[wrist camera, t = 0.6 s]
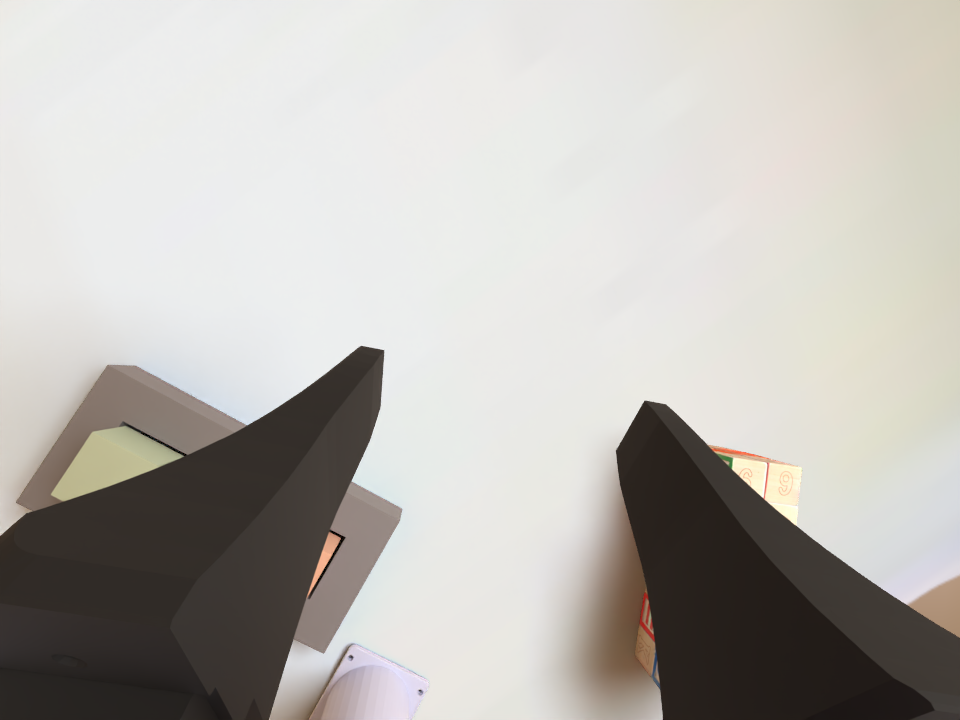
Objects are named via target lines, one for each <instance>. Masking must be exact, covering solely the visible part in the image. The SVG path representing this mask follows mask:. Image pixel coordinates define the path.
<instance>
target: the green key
mask: <svg viewBox="0 0 960 720" xmlns="http://www.w3.org/2000/svg"><path fill="white" fill-rule="evenodd" d="M182 457H184V456H183V455H181V454H179V453H177V452H175V451H173V450H171V449H169V448H167V447H165V446H163V445H162V444H160V443H158V442H156V441H154V440H152V439H150V438H148V437H146V436H144V435H142V434H140V433H139V432H137V431H135V430H133V429H131V428H129V427H127V426H123V427H117V428H111V429H105V430H99V431H94V432H92V433H91V434H90V436H89V437H88V439H87V440H86V442H85V444H84V445H83V447H82V448H81V450H80V451H79V453H78V454H77V456H76V457H75V459H74V460H73V462H72V463H71V465H70V466H69V468H68V469H67V471H66V472H65V474H64V475H63V477H62V478H61V480H60V481H59V483H58V484H57V486H56V487H55V489H54V490H53V492H52V493H51V495H52V496H54V497H56V498H58V499H60V500H62V501H67V500H70V499H73V498H76V497H79V496H82V495H85V494H88V493H91V492H93V491H96V490H99V489H102V488H105V487H108V486H111V485H114V484H116V483H119V482H122V481H125V480H127V479H130V478H132V477H135V476H138V475H140V474H143V473H145V472H148V471H151V470H153V469H156V468H158V467H160V466H163V465H165V464H168V463H170V462H172V461H175V460H177V459H180V458H182Z"/></svg>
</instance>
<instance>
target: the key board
mask: <svg viewBox="0 0 960 720" xmlns="http://www.w3.org/2000/svg"><path fill="white" fill-rule="evenodd" d="M123 426H127V427H129V428H131V429H133V430H135V431H137V432H140V430H141V431H143V432H145V433H147V434H148V435H150V436H152V437H154V438H156V439H158V440H160V441H162V442H164V443H166V444H168V445H170V446H171V447H173V448H175V449H177V450H179V451H181V452H183V453H185V454H187V455H189V454H191V453H193V452H195V451H197V450H199V449H201V448H203V447H206V446H208V445H210V444H212V443H214V442H216V441H218V440H220V439H223V438H225V437H227V436H229V435H231V434H233V433H235V432H237V431H238V430H240V429H242V428H244V427H246V426H247V425H245V424H243V423H241V422H239V421H237V420H236V419H234V418H232V417H230V416H228V415H226V414H224V413H223V412H221V411H219V410H217V409H215V408H213V407H211V406H209V405H208V404H206V403H204V402H202V401H200V400H198V399H196V398H195V397H193V396H191V395H189V394H187V393H185V392H183V391H182V390H180V389H178V388H176V387H174V386H172V385H170V384H168V383H167V382H165V381H163V380H161V379H159V378H157V377H155V376H154V375H152V374H150V373H148V372H146V371H144V370H142V369H141V368H139V367H137V366H125V365H108V366H107V367H106V368H105V370H104V371H103V373H102V374H101V376H100V377H99V379H98V380H97V382H96V383H95V385H94V386H93V388H92V389H91V391H90V392H89V394H88V395H87V397H86V398H85V400H84V401H83V403H82V404H81V406H80V407H79V409H78V410H77V412H76V413H75V415H74V416H73V418H72V419H71V421H70V422H69V424H68V425H67V427H66V428H65V430H64V431H63V433H62V434H61V436H60V437H59V439H58V440H57V442H56V443H55V445H54V446H53V448H52V449H51V451H50V452H49V454H48V455H47V457H46V458H45V460H44V461H43V463H42V464H41V466H40V467H39V469H38V470H37V472H36V473H35V475H34V476H33V477H32V479H31V480H30V482H29V483H28V485H27V486H26V488H25V489H24V491H23V492H22V494H21V495H20V497H19V498H18V500H17V501H16V503H18V504H20V505H22V506H24V507H26V508H28V509H30V510H32V511H36V510H39V509H42V508H46V507H49V506H52V505H55V504H58V503H61V502H64V501H62V500H60V499H58V498H56V497H54V496H52V495H51V493H52V492H53V490H54V489H55V487H56V486H57V484H58V483H59V481H60V480H61V478H62V477H63V475H64V474H65V472H66V471H67V469H68V468H69V466H70V465H71V463H72V462H73V460H74V459H75V457H76V456H77V454H78V453H79V451H80V450H81V448H82V447H83V445H84V444H85V442H86V440H87V439H88V437H89V436H90V434H91V433H92V432H94V431H99V430H105V429H111V428H117V427H123ZM401 512H402V509H401V508H400V507H398V506H396V505H394V504H392V503H390V502H388V501H387V500H385V499H383V498H381V497H379V496H377V495H375V494H373V493H372V492H370V491H368V490H366V489H364V488H362V487H360V486H359V485H357V484H355V483H353V482H351V483H350V485H349V487H348V489H347V492H346V494H345V496H344V498H343V500H342V502H341V505H340V507H339V509H338V511H337V513H336V516H335V518H334V521H333V523H332V526H331V528H330V530H332V531H334V532H336V533H338V534H340V535H342V536H344V537H345V538H344V540H343V542H342V543H341V545H340V547H339V548H338V550H337V552H336V554H335V555H334V557H333V559H332V560H331V562H330V564H329V566H328V567H327V569H326V571H325V572H324V574H323V576H322V578H321V579H320V581H318V580H317V582H316V583H315V585H314V587H313V588H312V590H311V592H310V594H309V595H308V597H307V599H306V601H305V604H304V607H303V610H302V614H301V617H300V620H299V623H298V626H297V629H296V632H295V636H294V639H295V640H297V641H299V642H301V643H303V644H305V645H307V646H309V647H311V648H313V649H315V650H317V651H319V652H321V653H323V654H324V652H325V651H326V649H327V647H328V645H329V644H330V642H331V640H332V638H333V637H334V635H335V633H336V631H337V630H338V628H339V626H340V624H341V623H342V621H343V619H344V617H345V616H346V614H347V612H348V610H349V609H350V607H351V605H352V603H353V602H354V600H355V598H356V596H357V595H358V593H359V591H360V589H361V588H362V586H363V584H364V582H365V581H366V579H367V577H368V575H369V574H370V572H371V570H372V568H373V567H374V565H375V563H376V561H377V560H378V558H379V556H380V554H381V553H382V551H383V549H384V547H385V546H386V544H387V542H388V540H389V539H390V537H391V535H392V533H393V532H394V530H395V528H396V526H397V525H398V523H399V521H400V517H401Z"/></svg>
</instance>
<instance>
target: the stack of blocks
mask: <svg viewBox="0 0 960 720" xmlns="http://www.w3.org/2000/svg"><path fill="white" fill-rule="evenodd" d="M708 446H709V447H710V448H711V449H712V450H713V451H714V452H715V453H716V454H717V455H718V456H719V457H720V458H721V459H722V460H723V461H724V462H725V463H726V464H727V465H728V466H729V467H730V468H731V469H732V470H733V471H734V472H736V473H737V474H738V475H739V476H740V477H741V478H742V479H743V480H744V481H745V482H746V483H747V484H748V485H749V486H751V487H752V488H753V489H754V490H755V491H756V492H757V493H758V494H759V495H760V496H761V497H763V498H764V499H765V500H766V501H767V502H768V503H769V504H770V505H772V506H773V507H774V508H775V509H776V510H777V511H779V512H780V513H781V514H782V515H783V516H785V517H786V518H787V519H788V520H790V521H791V522H792V523H793V524H795V525H796V521H797V514H798V506H797V504H798V498H799V490H800V484H801V475H802V468H801V467H798V466H794V465H791V464H787V463H783V462H779V461H776V460H771V459H769V458H765V457H761V456H758V455H754V454H750V453H746V452H740V451H736V450H732V449H728V448H724V447H718V446H712V445H708ZM635 656H636V657H637V659H638V660H639V662H640V663H641V664H642V665H643V667H644V669H645V670H646V671H647V673H648V674H649V675H650V677H651V678H653V680H654V682H655V683H656V685H657V686H658V687H659V689H660V682H659V672H658V663H657V655H656V648H655V640H654V633H653V626H652V618H651V612H650V606H649V600H648V594H647V588H646V590H645V593H644V598H643V605H642V611H641V618H640V625H639V630H638V636H637V643H636V649H635Z"/></svg>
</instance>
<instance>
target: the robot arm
mask: <svg viewBox="0 0 960 720" xmlns="http://www.w3.org/2000/svg"><path fill="white" fill-rule="evenodd" d="M383 362H384V350H380V349H375V348H370V347H364V346H361V347H359V348H357V349H356V350H355V351H354V352H352V353H351V354H350V355H349V356H347V357H346V358H345V359H344V360H343V361H341V362H340V363H339V364H338V365H336V366H335V367H334V368H332V369H331V370H330V371H329V372H327V373H326V374H325V375H323V376H322V377H321V378H319V379H318V380H317V381H315V382H314V383H313V384H311V385H310V386H309V387H307V388H306V389H304V390H303V391H302V392H300V393H299V394H297V395H296V396H294V397H293V398H291V399H290V400H288V401H287V402H285V403H284V404H282V405H281V406H279V407H278V408H276V409H275V410H273V411H271V412H270V413H268V414H266V415H265V416H263V417H261V418H260V419H258V420H256V421H255V422H253V423H251V424H249V425H247V426H246V427H244V428H242V429H240V430H238V431H237V432H235V433H233V434H231V435H229V436H227V437H225V438H223V439H220V440H218V441H216V442H214V443H212V444H210V445H208V446H206V447H203V448H201V449H199V450H197V451H195V452H193V453H191V454H189V455H186V456H184V457H182V458H180V459H177V460H175V461H172V462H170V463H168V464H165V465H163V466H160V467H158V468H156V469H153V470H151V471H148V472H145V473H143V474H140V475H138V476H135V477H132V478H130V479H127V480H125V481H122V482H119V483H116V484H114V485H111V486H108V487H105V488H102V489H99V490H96V491H93V492H91V493H88V494H85V495H82V496H79V497H76V498H73V499H70V500H67V501H64V502H61V503H58V504H55V505H52V506H49V507H46V508H42V509H39V510H36V511H33V512H30V513H26V514H25V515H24V516H23V517H22V518H20V519H19V520H18V521H17V522H16V523H14V524H13V525H12V526H11V527H10V528H9V529H8V530H7V531H5V532H4V533H3V534H2V535H1V536H0V720H269V717H270V714H271V710H272V707H273V703H274V700H275V697H276V694H277V690H278V687H279V684H280V681H281V677H282V674H283V671H284V667H285V664H286V661H287V658H288V654H289V651H290V648H291V645H292V642H293V639H294V636H295V632H296V629H297V626H298V623H299V620H300V617H301V614H302V610H303V607H304V604H305V601H306V598H307V595H308V592H309V589H310V586H311V583H312V580H313V577H314V574H315V571H316V568H317V565H318V563H319V560H320V557H321V554H322V551H323V548H324V545H325V542H326V539H327V537H328V534H329V531H330V528H331V526H332V523H333V521H334V518H335V516H336V513H337V511H338V509H339V507H340V505H341V502H342V500H343V498H344V496H345V494H346V492H347V489H348V487H349V485H350V483H351V481H352V478H353V476H354V474H355V472H356V470H357V468H358V465H359V463H360V461H361V459H362V457H363V454H364V452H365V450H366V448H367V446H368V443H369V441H370V439H371V436H372V432H373V429H374V426H375V423H376V420H377V417H378V413H379V410H380V406H381V391H382V377H383ZM616 454H617V464H618V473H619V480H620V486H621V490H622V494H623V498H624V501H625V505H626V509H627V513H628V516H629V520H630V524H631V527H632V531H633V535H634V538H635V542H636V546H637V549H638V553H639V557H640V560H641V564H642V569H643V573H644V577H645V582H646V588H647V594H648V600H649V606H650V612H651V618H652V626H653V633H654V640H655V648H656V655H657V663H658V672H659V682H660V691H661V701H662V711H663V720H960V638H959V637H957V636H956V635H954V634H952V633H951V632H949V631H947V630H946V629H944V628H942V627H940V626H939V625H937V624H935V623H934V622H932V621H931V620H929V619H927V618H926V617H924V616H923V615H921V614H920V613H918V612H917V611H915V610H913V609H912V608H910V607H909V606H907V605H906V604H904V603H903V602H901V601H900V600H898V599H897V598H895V597H893V596H892V595H890V594H889V593H887V592H886V591H884V590H883V589H881V588H880V587H878V586H877V585H876V584H874V583H873V582H871V581H870V580H868V579H867V578H865V577H864V576H862V575H861V574H860V573H858V572H857V571H855V570H854V569H853V568H851V567H850V566H848V565H847V564H846V563H844V562H843V561H842V560H840V559H839V558H837V557H836V556H835V555H833V554H832V553H831V552H829V551H828V550H826V549H825V548H824V547H822V546H821V545H820V544H819V543H817V542H816V541H815V540H813V539H812V538H811V537H809V536H808V535H807V534H806V533H804V532H803V531H802V530H801V529H799V528H798V527H797V526H796V525H795V524H793V523H792V522H791V521H790V520H788V519H787V518H786V517H785V516H783V515H782V514H781V513H780V512H779V511H777V510H776V509H775V508H774V507H773V506H772V505H770V504H769V503H768V502H767V501H766V500H765V499H764V498H763V497H761V496H760V495H759V494H758V493H757V492H756V491H755V490H754V489H753V488H752V487H751V486H749V485H748V484H747V483H746V482H745V481H744V480H743V479H742V478H741V477H740V476H739V475H738V474H737V473H736V472H734V471H733V470H732V469H731V468H730V467H729V466H728V465H727V464H726V463H725V462H724V461H723V460H722V459H721V458H720V457H719V456H718V455H717V454H716V453H715V452H714V451H713V450H712V449H711V448H710V447H709V446H708V445H707V444H706V443H705V442H704V441H703V440H702V439H701V438H700V437H699V436H698V435H697V434H696V433H695V432H694V431H693V430H692V429H691V428H690V427H689V426H688V425H687V424H686V423H685V422H684V421H683V420H682V419H681V418H680V417H679V416H678V415H677V414H676V413H675V412H674V411H673V410H672V409H670V408H669V407H668V406H667V405H665V404H660V403H655V402H650V401H644V403H643V404H642V406H641V408H640V410H639V411H638V413H637V415H636V417H635V418H634V420H633V422H632V424H631V425H630V427H629V429H628V431H627V433H626V434H625V436H624V438H623V440H622V441H621V443H620V445H619V447H618V448H617V450H616ZM349 655H352V656H353V658H349V657H348V656H349ZM428 688H429V682H428V680H427V679H425V678H423V677H421V676H419V675H417V674H415V673H413V672H411V671H409V670H407V669H405V668H403V667H401V666H399V665H397V664H395V663H393V662H391V661H389V660H387V659H385V658H383V657H381V656H379V655H377V654H375V653H373V652H371V651H369V650H367V649H364V648H362V647H360V646H358V645H356V644H353V645H351V646H350V647H349V649H348V650H347V652H346V654H345V656H344V658H343V659H342V661H341V663H340V665H339V666H338V668H337V670H336V672H335V673H334V675H333V677H332V679H331V680H330V682H329V684H328V686H327V688H326V689H325V691H324V693H323V695H322V696H321V698H320V700H319V702H318V703H317V705H316V707H315V709H314V711H313V712H312V714H311V716H310V718H309V719H308V720H412V718H413V716H414V714H415V713H416V711H417V709H418V707H419V705H420V703H421V701H422V700H423V698H424V696H425V694H426V692H427V690H428ZM420 689H421V690H423V691H422V692H418V690H420Z"/></svg>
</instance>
